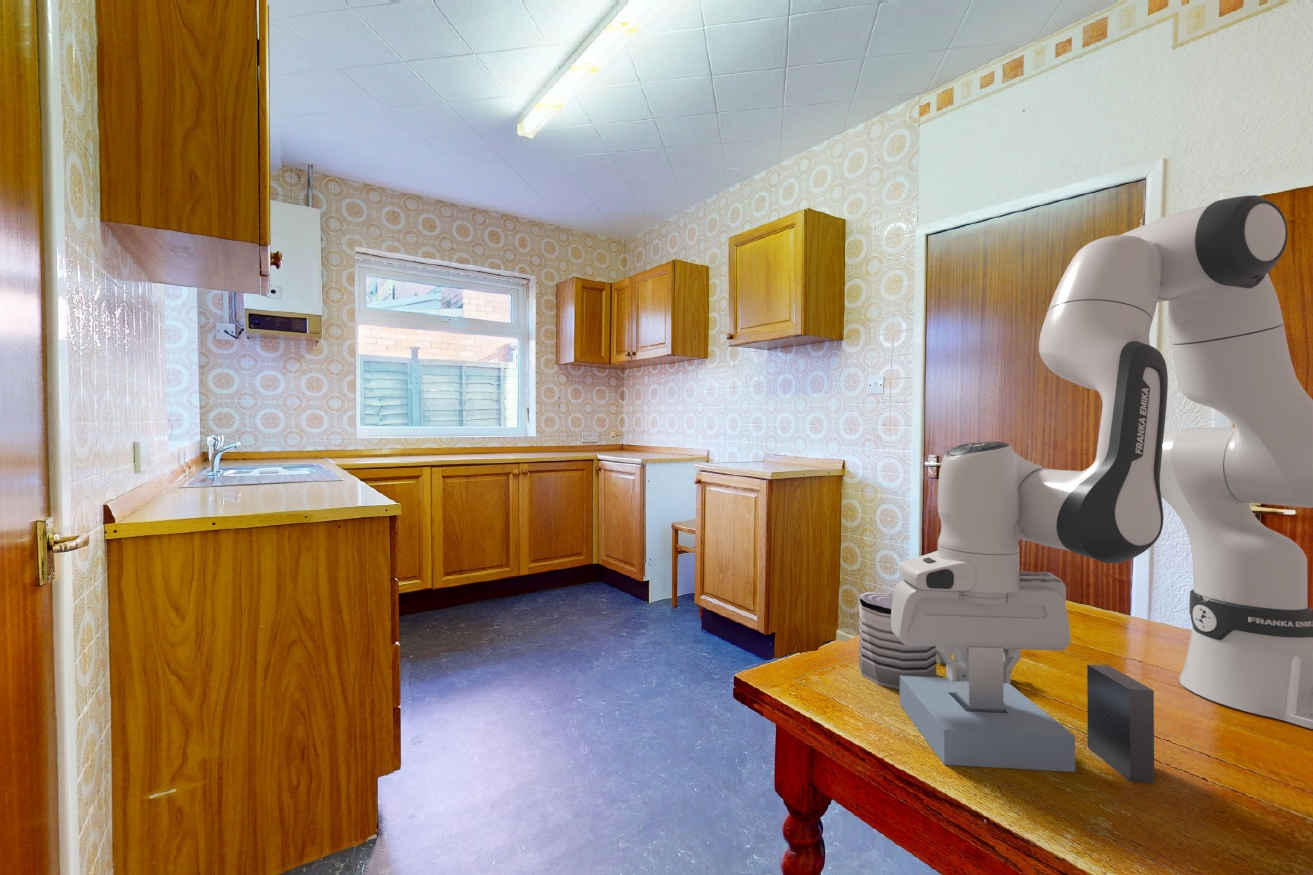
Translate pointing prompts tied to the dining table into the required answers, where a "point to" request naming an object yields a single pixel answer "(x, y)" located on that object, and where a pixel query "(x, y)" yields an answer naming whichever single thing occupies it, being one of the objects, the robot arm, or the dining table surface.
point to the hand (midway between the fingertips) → (977, 680)
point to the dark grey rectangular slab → (1121, 722)
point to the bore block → (986, 729)
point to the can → (888, 645)
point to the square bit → (980, 679)
